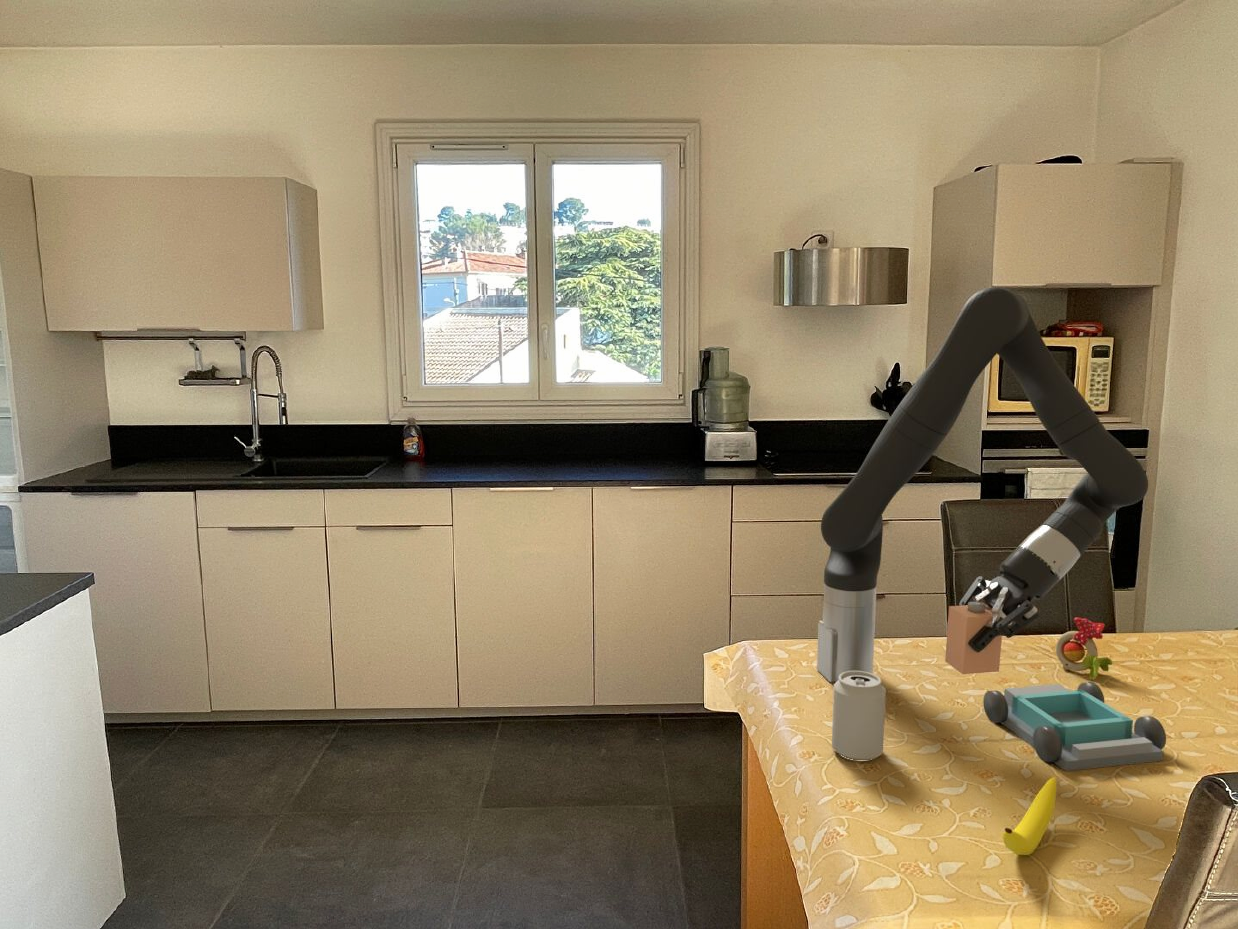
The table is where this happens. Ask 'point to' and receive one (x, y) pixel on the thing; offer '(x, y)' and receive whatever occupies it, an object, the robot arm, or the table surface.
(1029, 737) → the chassis
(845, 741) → the can
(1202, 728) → the table surface
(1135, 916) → the table surface
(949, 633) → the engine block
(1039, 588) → the robot arm
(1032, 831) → the banana
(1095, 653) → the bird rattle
